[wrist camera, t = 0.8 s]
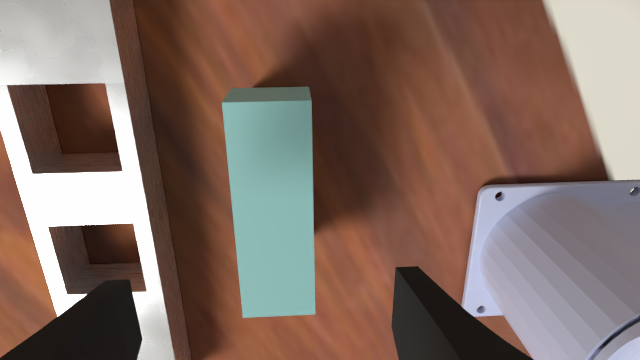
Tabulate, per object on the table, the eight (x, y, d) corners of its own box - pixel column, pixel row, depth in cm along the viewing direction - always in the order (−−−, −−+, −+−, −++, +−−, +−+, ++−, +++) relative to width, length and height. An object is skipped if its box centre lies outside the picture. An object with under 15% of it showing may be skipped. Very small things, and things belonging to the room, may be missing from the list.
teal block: (306, 76, 19) (311, 100, 15) (310, 250, 23) (315, 314, 18) (238, 77, 19) (222, 102, 14) (252, 252, 23) (243, 317, 18)
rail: (112, -127, 16) (82, -149, 14) (192, 365, 25) (182, 402, 23) (-30, -128, 16) (-85, -150, 13) (104, 370, 25) (85, 408, 23)
